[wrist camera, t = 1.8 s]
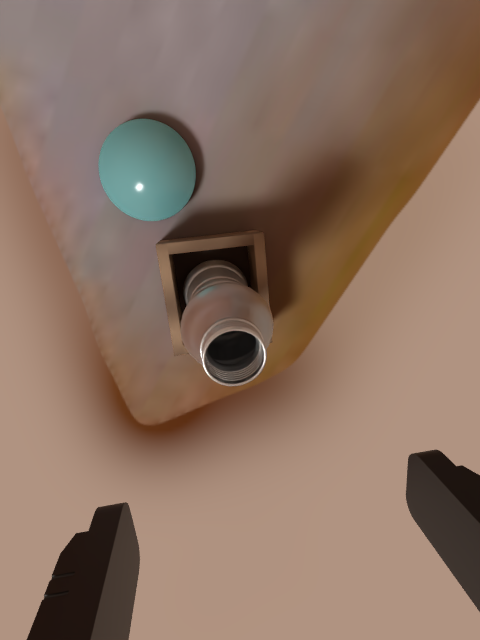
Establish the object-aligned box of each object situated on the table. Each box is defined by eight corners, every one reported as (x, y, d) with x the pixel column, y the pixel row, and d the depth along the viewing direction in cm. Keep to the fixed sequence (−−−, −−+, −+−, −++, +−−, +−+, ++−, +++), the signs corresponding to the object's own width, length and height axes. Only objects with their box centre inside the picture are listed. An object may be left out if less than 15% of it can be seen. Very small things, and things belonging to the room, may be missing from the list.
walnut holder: (160, 240, 37) (155, 244, 32) (255, 229, 37) (264, 232, 33) (176, 338, 40) (174, 355, 35) (263, 327, 41) (272, 342, 36)
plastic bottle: (176, 264, 37) (158, 319, 19) (238, 249, 38) (281, 288, 19) (192, 320, 40) (190, 421, 21) (250, 306, 40) (301, 392, 21)
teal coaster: (92, 125, 33) (88, 122, 32) (188, 118, 34) (188, 114, 32) (112, 225, 36) (109, 225, 34) (201, 215, 36) (201, 216, 35)
